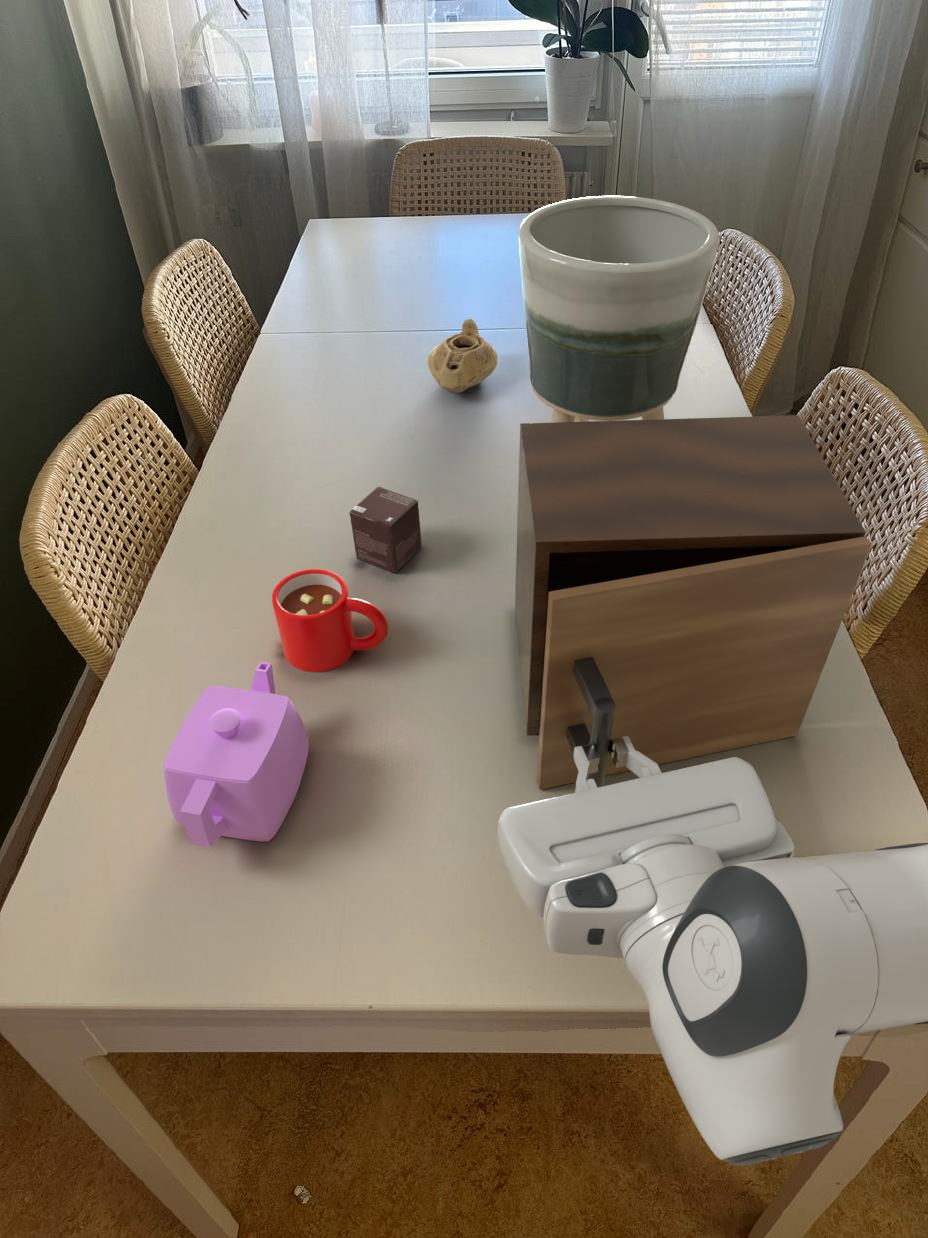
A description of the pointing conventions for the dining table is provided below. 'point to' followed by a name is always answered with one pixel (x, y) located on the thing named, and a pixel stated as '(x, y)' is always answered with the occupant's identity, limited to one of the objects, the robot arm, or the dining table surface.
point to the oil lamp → (462, 359)
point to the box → (386, 529)
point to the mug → (321, 620)
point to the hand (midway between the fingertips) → (599, 745)
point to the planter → (612, 302)
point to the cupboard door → (690, 656)
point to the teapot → (236, 762)
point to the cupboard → (659, 507)
